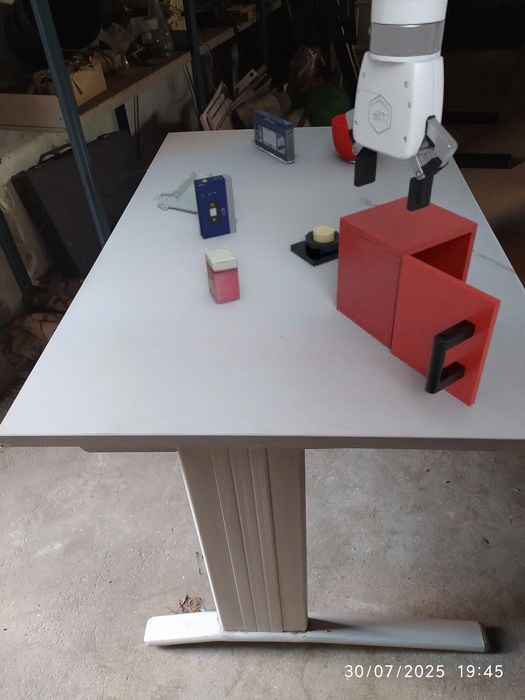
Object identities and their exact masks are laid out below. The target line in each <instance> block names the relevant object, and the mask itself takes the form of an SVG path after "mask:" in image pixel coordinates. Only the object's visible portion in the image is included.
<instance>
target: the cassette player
mask: <svg viewBox="0 0 525 700" xmlns="http://www.w3.org/2000/svg"><path fill="white" fill-rule="evenodd" d="M194 187H195V195H196V203H197V210H198V213H197V214H198V217H197V218H198V225H199V232H200V236H201V238H202V239H203V240H208V239H212V238H216V237H221V236H225V235H230V234H234V233H237V224H236V212H235V211H236V210H235V201H234V199H235V198H234V188H233V177H232V175H231V174H227V173H224V174H219V175H213V177H208V178H202V179H197V180H194Z"/></svg>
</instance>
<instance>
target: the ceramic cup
mask: <svg viewBox="0 0 525 700" xmlns="http://www.w3.org/2000/svg"><path fill="white" fill-rule="evenodd" d="M349 130H350V129H348V124H347V120H346V113H342V114H339V115H337V116H334V117H333V118H332V119H331V134H332V135H331V136H332V142H333V146H334V149H335V150H336V152H337V154H338V155H339V157H340V158H341V159H342V160H343V159H344V160H346V161H355V156H357V155H355V154H353V152H352V147H353V144H352V142H351V139H350V137H349ZM373 151H374V150H373ZM344 160H343V161H344Z"/></svg>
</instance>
